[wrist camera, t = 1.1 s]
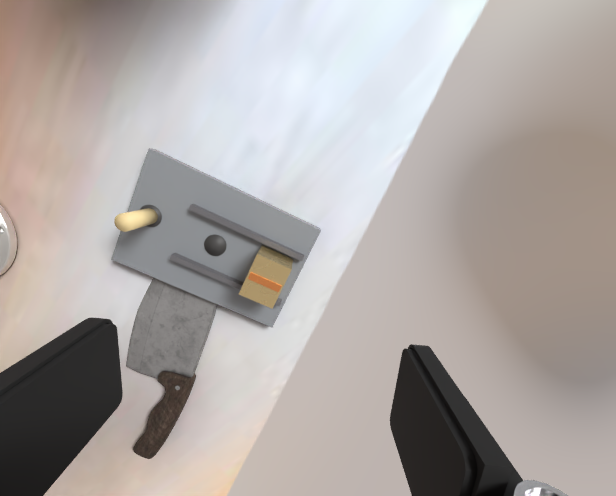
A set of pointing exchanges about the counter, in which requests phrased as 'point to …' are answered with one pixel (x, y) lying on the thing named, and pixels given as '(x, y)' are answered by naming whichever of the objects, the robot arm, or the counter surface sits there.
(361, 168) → the counter surface
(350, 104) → the counter surface
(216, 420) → the counter surface
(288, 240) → the bolt plate
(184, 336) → the cleaver
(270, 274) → the cardboard box
